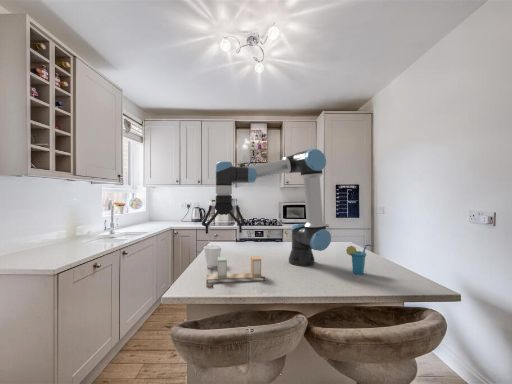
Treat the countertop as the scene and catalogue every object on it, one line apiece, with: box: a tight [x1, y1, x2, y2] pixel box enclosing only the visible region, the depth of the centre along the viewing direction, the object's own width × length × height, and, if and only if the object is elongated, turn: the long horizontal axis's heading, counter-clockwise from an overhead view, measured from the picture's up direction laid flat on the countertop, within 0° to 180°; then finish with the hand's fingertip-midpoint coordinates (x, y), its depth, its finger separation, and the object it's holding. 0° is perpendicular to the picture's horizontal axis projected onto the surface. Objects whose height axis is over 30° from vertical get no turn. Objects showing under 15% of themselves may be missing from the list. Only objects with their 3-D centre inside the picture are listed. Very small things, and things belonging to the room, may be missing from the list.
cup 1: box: [203, 244, 223, 269], centre depth 145 cm, size 10×10×11 cm
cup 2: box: [345, 244, 374, 276], centre depth 136 cm, size 14×8×15 cm, turn 98°
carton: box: [216, 256, 228, 279], centre depth 123 cm, size 4×6×9 cm, turn 9°
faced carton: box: [250, 255, 262, 277], centre depth 125 cm, size 4×6×9 cm, turn 10°
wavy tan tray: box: [205, 272, 266, 287], centre depth 123 cm, size 26×12×3 cm, turn 100°
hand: (223, 240), depth 123 cm, fingers open, 13 cm apart
